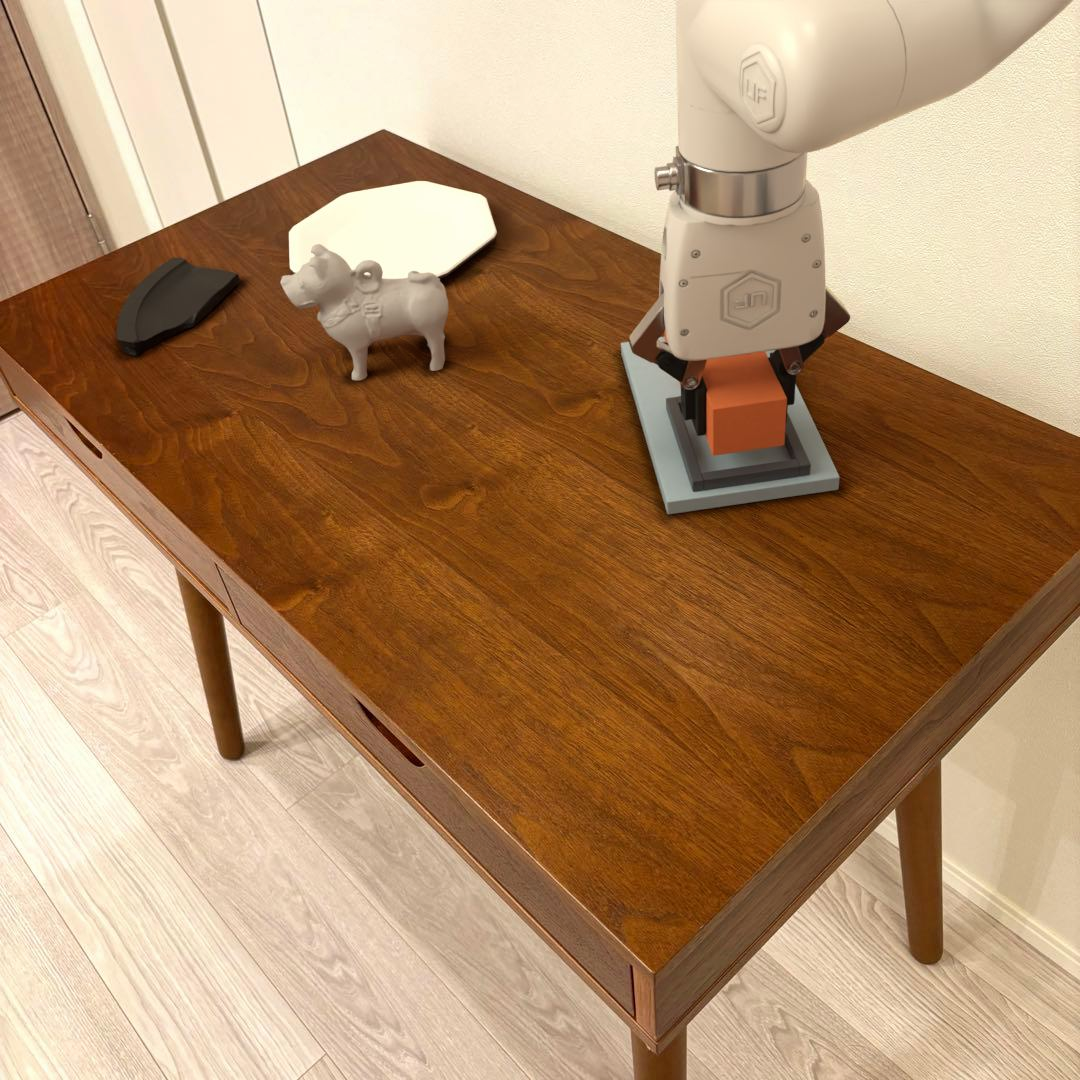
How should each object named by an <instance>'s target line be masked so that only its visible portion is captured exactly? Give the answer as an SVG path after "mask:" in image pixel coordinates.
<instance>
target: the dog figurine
mask: <svg viewBox="0 0 1080 1080" xmlns="http://www.w3.org/2000/svg"><path fill="white" fill-rule="evenodd" d="M311 253H313V254H314V256H315V257H312V258H310V261H309V262H308V263H306V264H304V265H302V267H301V268H300V270H299V271H298V272H297V273H295V274H294V273H293V274H288V275H287V274H286V275H282V276H281V279H280V286H281V288H282V289H283V292H284V294H285V295H286V297H287V298H288V299H289V301H290V302H291V303H292V304H293V305H294V306H295V307H296V308H298V309H300V310H307V309H310V308H313V307H316V306H318V307H319V311H318V312H317V315H316V316H317V317H316V318H317V322H319V323H320V324H321V326H322V327H323V329H324V330H325V332H326V333H327V335H329V337H331V338H332V339H333V340H335V341H336V342H338V343H340V344H341V345H342V346H344V347H345V348H346V349H347V350H348V352H349V353H350V356H351V358H352V362H353V363H352V364H353V369H352V372H351V380H352V381H362V380H365V379H366V378H367V377H368V372H367V371H368V370H367V368H368V365H367V364H368V349H369V347H370V346H371V345H372V344H373V343H376V342H379V341H384V340H389V339H394V338H400V337H405V336H421V337H424V338H425V340H426V342H427V343H426V346H427V347H428V348H429V351H430V355H431V360H430V362H429V370H430V371H432V372H436V371H440V370H442V369H443V368H444V365H445V361H446V354H445V338H446V335H445V331H444V328H445V325H446V323H447V320H448V319H447V318H448V314H449V300H448V297H447V296H448V295H447V290H446V288H445V285H444V284H443V283H442V281H441V278H440V279H439V278H438V277H437V276H436V275H434V274H433V273H430V272H427V273H419V272H417V271H410V272H409V273H408V278H399V279H386V278H382V275H383V271H382V267H381V266H380V264H379V263H377V262H375V261H373V260H365V261H362V262H360V263H359V264H358V265H357V266H356V269H354V270H351V268H350V266H349V265H348V263H347V262H346V261H345V260H344V259H343V258H342V257H341V256H339V255H338V254H336V253H334V252H332V251H329V250H328V249H326V248H325V247H324V246H322V245H321V244H316V245H314V246H312V249H311ZM366 272H368V273H370V274H371V275H365V274H364V273H366Z"/></svg>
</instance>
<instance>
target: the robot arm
mask: <svg viewBox="0 0 1080 1080" xmlns="http://www.w3.org/2000/svg"><path fill="white" fill-rule="evenodd" d="M1072 2H1074V0H675V35H676V36H675V42H676V47H675V49H676V97H677V99H676V100H677V101H676V103H677V145H675V156H673V158H672V162H668V163H666V165H662V166H656V167H654V183H655V184H654V185H655V189H656V190H657V191H663V190H669V192H671V194H670V197H669V199H668V205H667V208H666V214H665V219H664V220H665V221H664V225H663V233H662V242H661V253H660V266H659V267H660V268H659V283H658V284H659V286H658V287H659V288H658V298H657V300H655V302H654V303H653V305H652V306H651V307H650V308H649V310H648V311H647V312H646V314H645V315H644V316H643V317H642V319H641V320H640V321H639V323H638V324H637V326H636V327H635V328H634V329H633V330H632V332H631V333H630V334H629V336H628V341H627V342H629V344H630V347H631V350H632V353H634V354H635V355H637V356H639V357H641V358H643V359H645V360H647V361H649V362H651V363H652V362H653V363H655V364H657V365H658V366H659V368H660V369H661V370H663V371H664V372H666V373H667V374H669V375H670V376H672V377H673V378H675V379H676V380H678V381H679V382H681V409H682V414H683V417H684V420H691V419H692V422H693V425H694V428H695V431H696V434H697V436H702V435H705V433H706V392H707V387H706V385H705V382H704V379H703V377H702V375H703V372H704V368H705V365H706V362H707V360H709V359H716V358H723V357H731V356H738V355H744V354H751V353H758V352H765V351H771V350H775V351H774V352H773V353H770V357H768V360H769V362H770V364H771V366H772V368H773V371H774V373H775V375H776V377H777V379H778V381H779V382H780V385H781V387H782V389H783V391H784V393H785V395H786V398H787V406H786V423H787V410H788V405H793V404H794V400H795V384H796V382H797V375H798V374H800V373H801V372H802V371H803V369H804V363H805V362H806V361H807V360H808V359H809V358H810V357H811V356H812V355H814V354H815V352H817V350H819V349H820V348H821V347H822V346H823V344H824V343H825V340H826V339H827V338H830V337H831V336H834V334H835V333H837V332H838V331H839V330H841V328H843V327H844V326H845V325H847V324H848V323H849V322H850V320H851V314H850V312H849V311H848V309H847V308H846V306H845V304H844V303H843V301H841V300H840V298H838V297H837V295H836V294H835V293H834V292H833V291H832V290H831V289H830V288H829V287H828V286H827V284H826V251H825V250H826V249H825V233H824V231H825V230H824V221H823V213H822V206H821V199H820V194H819V192H818V190H817V189H816V187H814V186H813V184H812V183H811V182H810V181H809V180H808V179H807V167H808V153H813V152H817V151H821V150H823V149H826V148H829V147H832V146H834V145H837V144H839V143H842V142H845V141H846V140H849V139H851V138H853V137H855V136H858V135H861V134H863V133H865V132H868V131H870V130H872V129H875V128H877V127H879V126H881V125H883V124H886V123H888V122H891V121H892V120H895V119H897V118H900V117H902V116H904V115H907V114H909V113H913V112H915V111H917V110H919V109H921V108H924V107H926V106H929V105H932V104H934V103H936V102H939V101H941V100H945V99H946V98H949V97H952V96H953V95H956V94H957V93H959V92H961V91H963V90H964V89H966V88H968V87H970V86H971V85H973V84H974V83H976V82H978V80H980V79H982V78H984V76H987V74H989V73H990V72H991V71H992V70H994V69H995V68H996V67H997V66H999V65H1000V64H1001V63H1003V62H1004V61H1005V60H1006V59H1008V57H1010V56H1011V55H1012V54H1013V53H1015V52H1016V51H1017V50H1018V49H1020V47H1022V46H1023V45H1024V44H1026V42H1028V41H1029V40H1030V39H1031V38H1033V37H1034V36H1035V35H1036V34H1037V33H1039V32H1040V31H1041V30H1042V29H1044V28H1045V27H1046V26H1047V25H1048V24H1050V22H1052V21H1053V20H1054V19H1055V18H1056V17H1057V16H1058V15H1060V14H1061V13H1062V12H1063V11H1064V10H1065V9H1066V8H1067V7H1068V6H1069V5H1070V4H1071V3H1072ZM665 330H666V336H667V341H668V343H667V342H661V341H660V340H658V339H659V337H662V335H664V331H665ZM796 385H797V384H796Z"/></svg>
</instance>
